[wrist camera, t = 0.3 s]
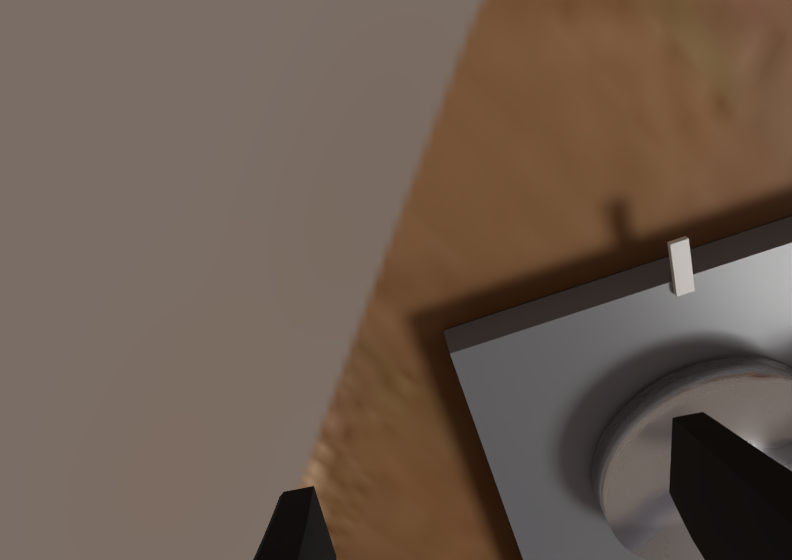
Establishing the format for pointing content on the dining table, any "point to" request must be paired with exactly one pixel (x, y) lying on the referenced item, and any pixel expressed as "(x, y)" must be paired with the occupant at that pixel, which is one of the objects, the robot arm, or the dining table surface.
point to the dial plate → (609, 371)
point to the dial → (651, 445)
